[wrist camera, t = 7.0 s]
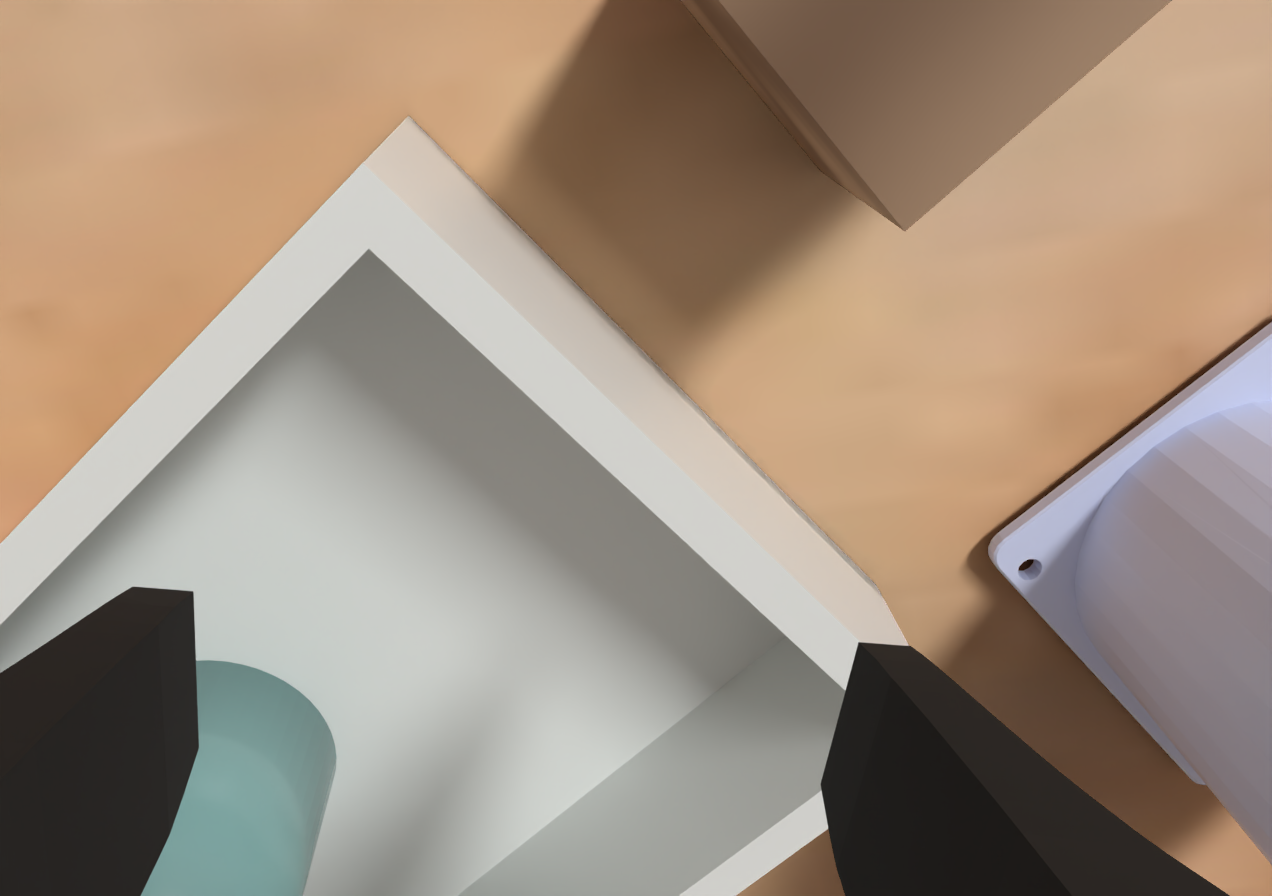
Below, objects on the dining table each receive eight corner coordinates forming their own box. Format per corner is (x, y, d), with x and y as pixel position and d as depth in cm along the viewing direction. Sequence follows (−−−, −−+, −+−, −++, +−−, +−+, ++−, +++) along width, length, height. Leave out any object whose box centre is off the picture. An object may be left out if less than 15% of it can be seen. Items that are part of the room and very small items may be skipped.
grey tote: (875, 584, 23) (957, 735, 18) (341, 1002, 27) (300, 1210, 22) (408, 116, 18) (362, 162, 14) (-156, 708, 22) (-336, 897, 18)
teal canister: (383, 774, 23) (322, 1075, 17) (209, 874, 24) (89, 1197, 18) (229, 620, 21) (95, 894, 15) (45, 735, 22) (-155, 1042, 16)
